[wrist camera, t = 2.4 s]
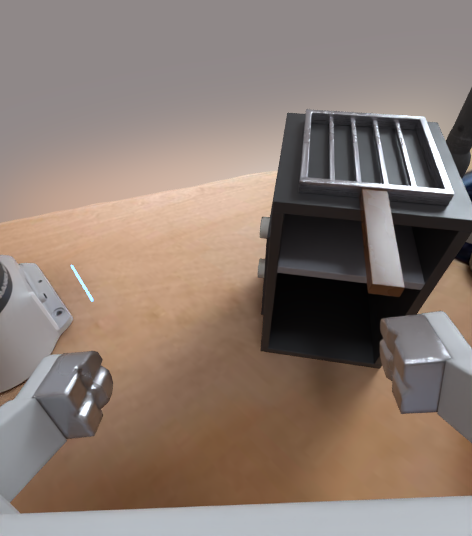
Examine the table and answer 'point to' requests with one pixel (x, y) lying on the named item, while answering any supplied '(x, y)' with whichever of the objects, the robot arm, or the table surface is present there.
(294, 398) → the table surface
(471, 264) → the fossilized seashell
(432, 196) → the rack
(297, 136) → the black grill cabinet
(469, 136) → the flashlight
